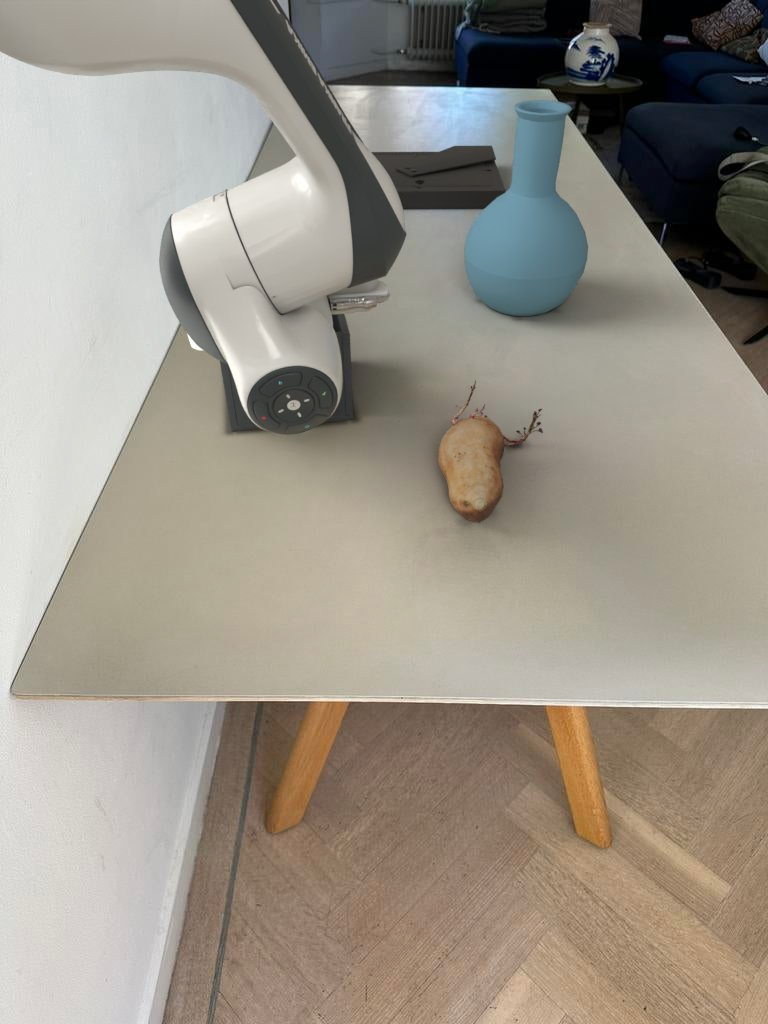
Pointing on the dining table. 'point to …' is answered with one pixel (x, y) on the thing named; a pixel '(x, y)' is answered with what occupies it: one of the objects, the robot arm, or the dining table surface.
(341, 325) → the gray open box
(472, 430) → the vegetable
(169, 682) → the dining table surface
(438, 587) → the dining table surface
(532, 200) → the vase
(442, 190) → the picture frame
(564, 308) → the dining table surface
